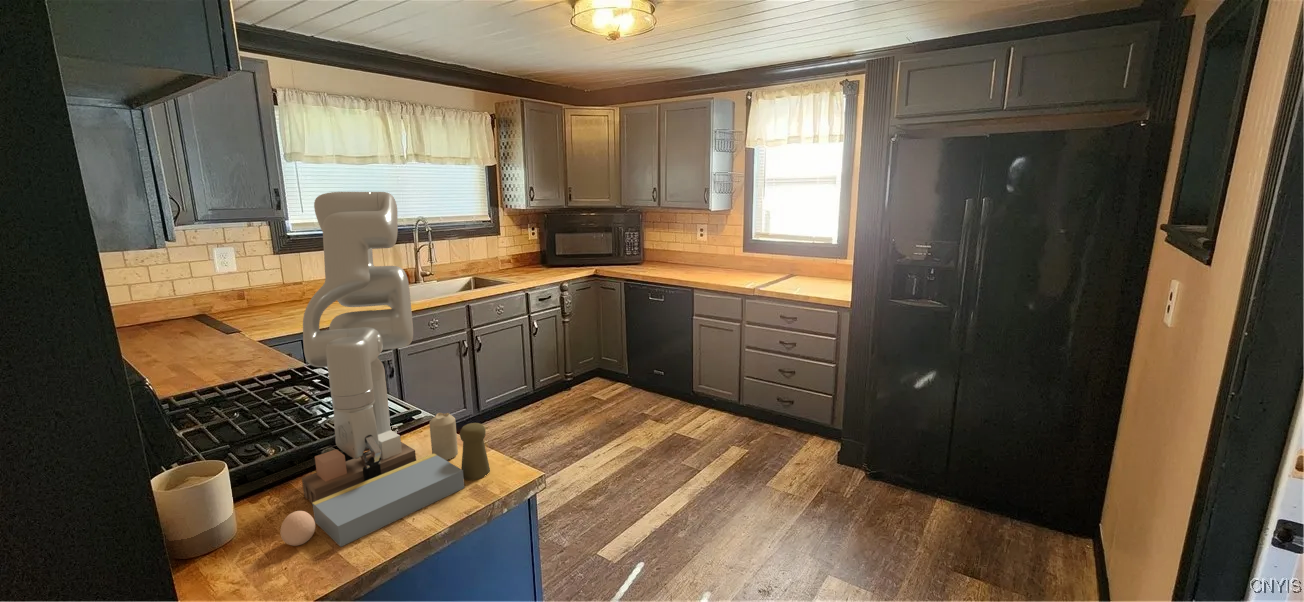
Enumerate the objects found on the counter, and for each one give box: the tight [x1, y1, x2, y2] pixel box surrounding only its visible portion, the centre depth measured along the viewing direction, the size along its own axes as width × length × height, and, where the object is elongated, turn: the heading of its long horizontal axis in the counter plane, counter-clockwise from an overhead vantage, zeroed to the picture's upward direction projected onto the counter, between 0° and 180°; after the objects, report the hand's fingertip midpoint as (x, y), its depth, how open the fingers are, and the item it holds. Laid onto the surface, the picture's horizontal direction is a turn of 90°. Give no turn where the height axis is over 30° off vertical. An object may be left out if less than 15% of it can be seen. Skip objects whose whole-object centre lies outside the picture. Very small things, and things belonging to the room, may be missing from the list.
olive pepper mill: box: [459, 422, 491, 481], centre depth 118 cm, size 6×6×11 cm
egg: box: [279, 510, 316, 547], centre depth 95 cm, size 5×5×6 cm
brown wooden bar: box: [301, 441, 417, 504], centre depth 115 cm, size 6×20×4 cm, turn 141°
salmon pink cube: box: [314, 449, 347, 482], centre depth 110 cm, size 4×4×4 cm
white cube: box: [378, 430, 402, 460], centre depth 118 cm, size 4×4×4 cm
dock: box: [311, 453, 465, 548], centre depth 107 cm, size 11×24×4 cm, turn 141°
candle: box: [429, 412, 459, 461], centre depth 125 cm, size 6×6×10 cm
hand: (362, 475), depth 115 cm, fingers open, 9 cm apart
